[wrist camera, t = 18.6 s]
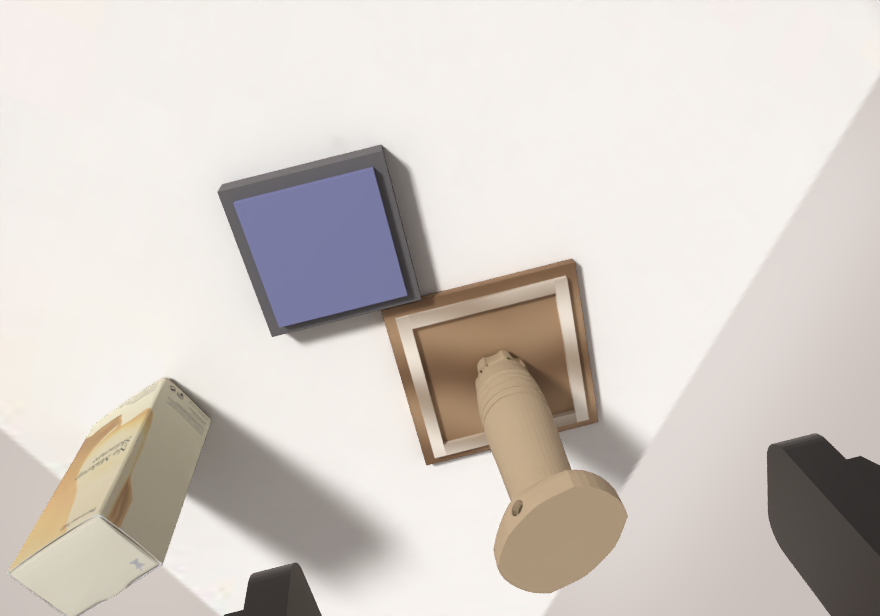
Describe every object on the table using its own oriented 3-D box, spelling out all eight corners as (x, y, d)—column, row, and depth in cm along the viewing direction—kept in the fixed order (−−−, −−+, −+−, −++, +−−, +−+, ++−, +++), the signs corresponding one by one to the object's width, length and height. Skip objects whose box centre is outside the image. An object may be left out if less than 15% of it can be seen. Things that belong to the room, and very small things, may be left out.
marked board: (381, 306, 43) (381, 313, 42) (572, 258, 43) (576, 264, 42) (425, 459, 48) (427, 469, 47) (595, 417, 48) (600, 425, 47)
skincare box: (166, 372, 43) (102, 508, 32) (214, 419, 45) (169, 563, 34) (87, 426, 44) (-1, 576, 33) (138, 470, 46) (70, 626, 35)
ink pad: (222, 184, 39) (215, 194, 37) (381, 144, 39) (382, 152, 37) (274, 325, 43) (271, 341, 41) (419, 289, 43) (421, 303, 41)
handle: (558, 350, 45) (647, 515, 31) (496, 422, 47) (556, 605, 33) (499, 313, 43) (568, 470, 30) (438, 389, 45) (476, 568, 32)
